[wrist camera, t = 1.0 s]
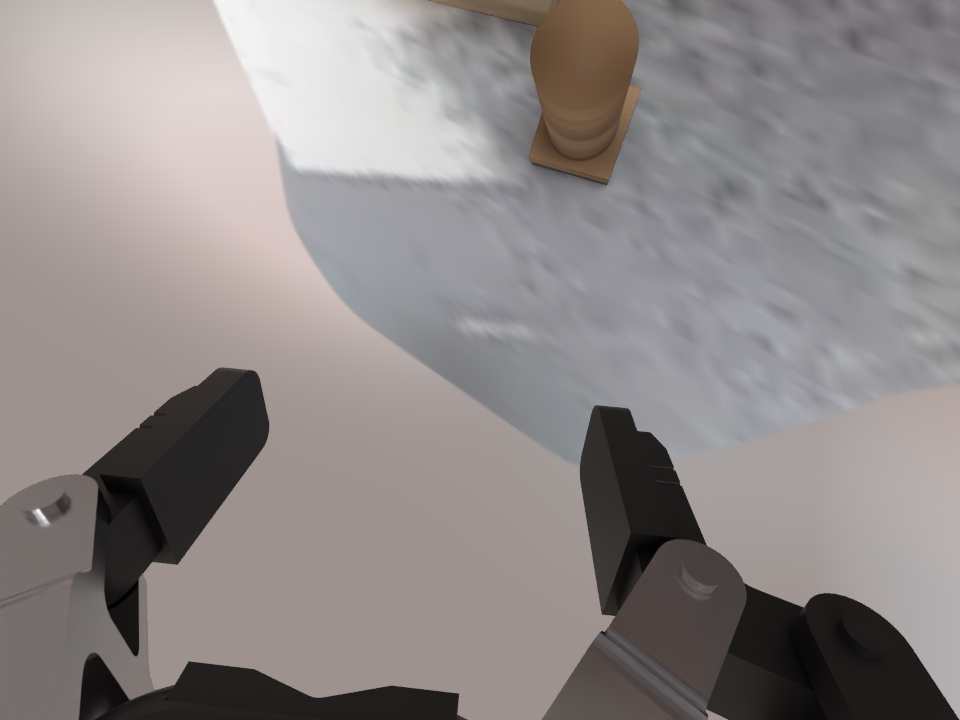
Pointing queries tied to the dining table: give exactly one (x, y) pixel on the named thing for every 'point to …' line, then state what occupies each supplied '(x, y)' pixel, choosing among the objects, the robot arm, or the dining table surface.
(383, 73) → the dining table surface
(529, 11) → the parcel
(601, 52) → the stamp
